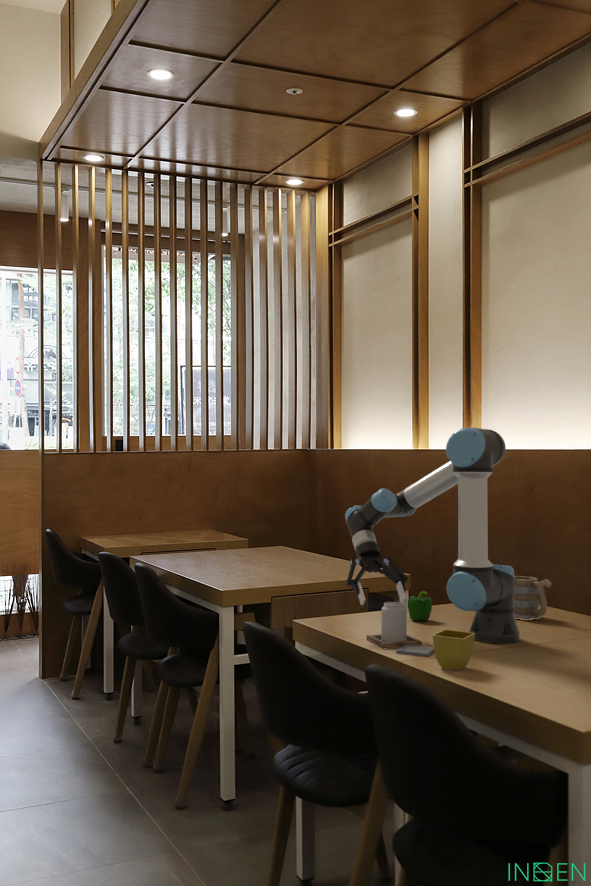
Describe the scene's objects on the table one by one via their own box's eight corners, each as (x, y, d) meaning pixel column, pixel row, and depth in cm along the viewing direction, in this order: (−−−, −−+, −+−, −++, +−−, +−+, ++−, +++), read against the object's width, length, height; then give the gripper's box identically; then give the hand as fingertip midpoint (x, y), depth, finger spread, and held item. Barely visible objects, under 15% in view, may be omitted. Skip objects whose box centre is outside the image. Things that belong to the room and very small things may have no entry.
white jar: (405, 646, 242) (405, 605, 243) (379, 645, 244) (380, 604, 244) (407, 641, 250) (407, 601, 250) (382, 640, 251) (382, 600, 252)
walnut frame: (403, 637, 255) (403, 633, 255) (421, 646, 243) (421, 641, 243) (366, 639, 251) (366, 634, 251) (382, 648, 239) (382, 643, 239)
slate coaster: (435, 650, 238) (435, 647, 238) (427, 656, 230) (427, 653, 230) (405, 647, 242) (405, 644, 242) (396, 653, 234) (396, 650, 234)
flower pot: (463, 674, 211) (463, 638, 212) (431, 669, 216) (431, 634, 216) (475, 667, 219) (475, 633, 219) (444, 662, 223) (444, 629, 224)
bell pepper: (401, 619, 285) (402, 590, 285) (417, 617, 290) (417, 588, 291) (421, 623, 279) (421, 593, 279) (436, 620, 284) (436, 591, 285)
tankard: (496, 615, 297) (496, 573, 297) (524, 613, 302) (524, 572, 302) (534, 625, 279) (534, 580, 279) (563, 623, 284) (563, 579, 284)
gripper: (398, 554, 273) (417, 607, 259) (327, 555, 266) (342, 610, 251) (405, 539, 268) (424, 593, 254) (332, 540, 261) (349, 595, 246)
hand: (384, 601), depth 253 cm, fingers open, 13 cm apart
